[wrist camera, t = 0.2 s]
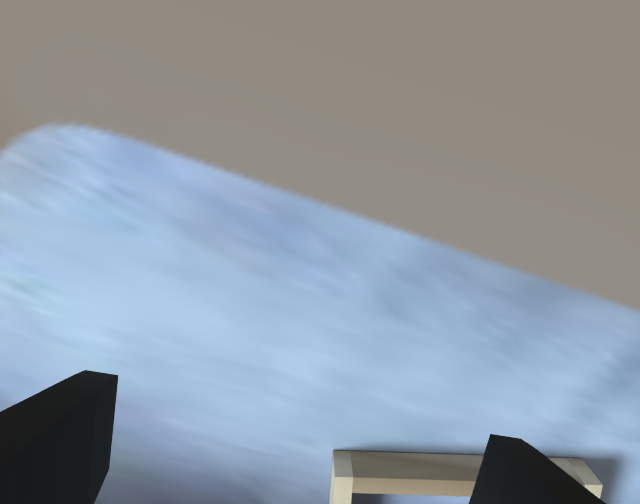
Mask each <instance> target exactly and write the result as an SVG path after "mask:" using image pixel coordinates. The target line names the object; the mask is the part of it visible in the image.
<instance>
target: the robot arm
mask: <svg viewBox="0 0 640 504" xmlns="http://www.w3.org/2000/svg"><path fill="white" fill-rule="evenodd" d="M117 383H118V375H113V374H106V373H100V372H93V371H87V370H85V371H82V372H80V373H78V374H75V375H73V376H71V377H69V378H67V379H65V380H63V381H61V382H59V383H57V384H55V385H53V386H51V387H49V388H47V389H45V390H43V391H41V392H39V393H37V394H35V395H33V396H31V397H29V398H27V399H25V400H23V401H21V402H19V403H17V404H15V405H13V406H11V407H9V408H7V409H5V410H3V411H1V412H0V504H94V502H95V500H96V498H97V495H98V493H99V491H100V489H101V486H102V484H103V482H104V479H105V477H106V475H107V472H108V470H109V463H110V453H111V443H112V433H113V423H114V413H115V403H116V393H117ZM469 504H606V503H604V502H603V501H602V500H600V499H599V498H598V497H597V496H595V495H594V494H593V493H592V492H590V491H589V490H588V489H587V488H585V487H584V486H583V485H582V484H580V483H579V482H578V481H576V480H575V479H574V478H573V477H571V476H570V475H569V474H568V473H566V472H565V471H564V470H563V469H561V468H560V467H559V466H558V465H556V464H555V463H554V462H552V461H551V460H550V459H548V458H547V457H546V456H545V455H543V454H542V453H541V452H539V451H538V450H537V449H535V448H534V447H532V446H531V445H529V444H528V443H526V442H525V441H523V440H522V439H519V438H512V437H506V436H500V435H493V434H490V437H489V440H488V443H487V447H486V450H485V453H484V456H483V460H482V463H481V466H480V469H479V473H478V476H477V479H476V482H475V486H474V489H473V492H472V495H471V498H470V502H469Z"/></svg>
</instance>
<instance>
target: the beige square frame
mask: <svg viewBox="0 0 640 504" xmlns="http://www.w3.org/2000/svg"><path fill="white" fill-rule="evenodd" d="M483 456H484V455H458V454H427V453H397V452H366V451H335V450H333V459H332V474H331V489H330V504H351V498H352V493H371V494H404V495H438V496H471V495H472V492H473V489H474V486H475V482H476V479H477V476H478V473H479V469H480V466H481V463H482V460H483ZM547 458H548V459H550V460H551V461H552V462H554V463H555V464H556V465H558V466H559V467H560V468H561V469H563V470H564V471H565V472H566V473H568V474H569V475H570V476H571V477H573V478H574V479H575V480H576V481H578V482H579V483H580V484H582V485H583V486H584V487H585V488H587V489H588V490H589V491H590V492H592V493H593V494H594V495H595V496H597V497H598V498H599V499H600V496H601V491H602V487H603V485H602V483H601V482H600V481H599V479H598V478H597V477H596V476H595V474H594V473H593V472H592V471H591V469H590V468H589V467H588V465H587V464H586V463H585V462H584V460H583V459H582V458H551V457H547Z"/></svg>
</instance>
